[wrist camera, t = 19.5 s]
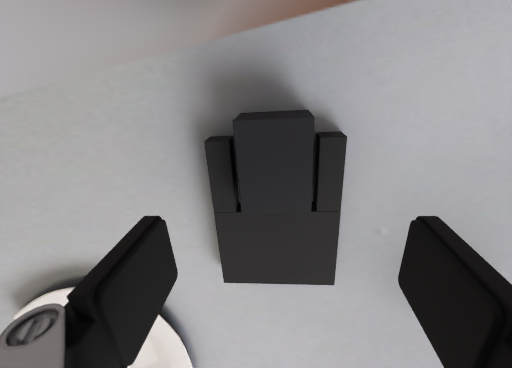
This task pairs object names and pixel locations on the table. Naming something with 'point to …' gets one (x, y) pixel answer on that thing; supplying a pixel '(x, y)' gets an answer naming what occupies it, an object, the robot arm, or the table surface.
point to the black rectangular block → (275, 161)
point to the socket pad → (278, 221)
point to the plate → (154, 348)
